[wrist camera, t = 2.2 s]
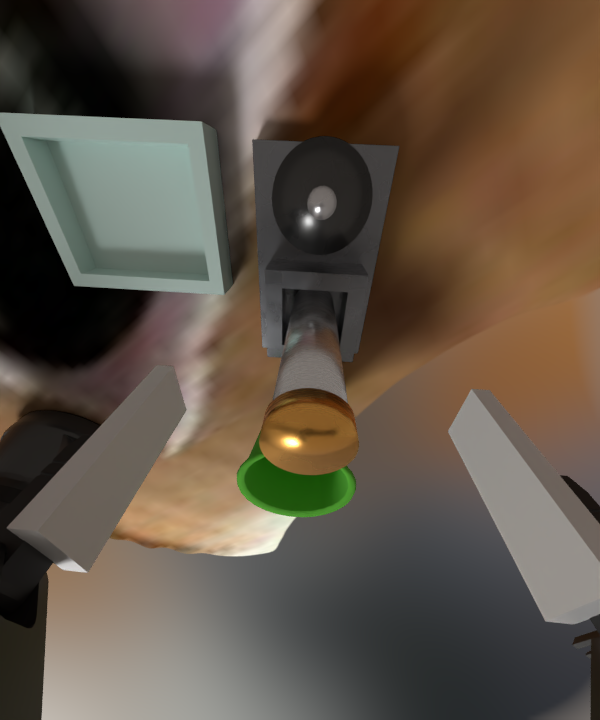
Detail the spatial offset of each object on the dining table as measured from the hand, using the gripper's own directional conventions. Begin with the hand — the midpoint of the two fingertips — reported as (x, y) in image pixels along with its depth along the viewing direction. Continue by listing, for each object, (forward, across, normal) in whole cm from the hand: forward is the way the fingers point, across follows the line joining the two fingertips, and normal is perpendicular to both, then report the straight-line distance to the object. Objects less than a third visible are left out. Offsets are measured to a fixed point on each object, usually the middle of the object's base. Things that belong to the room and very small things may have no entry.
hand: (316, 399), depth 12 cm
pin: (+12, 0, 0) cm, 12 cm away
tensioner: (+13, -1, +3) cm, 13 cm away
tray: (+12, -14, +6) cm, 19 cm away
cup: (+13, -1, -11) cm, 17 cm away
